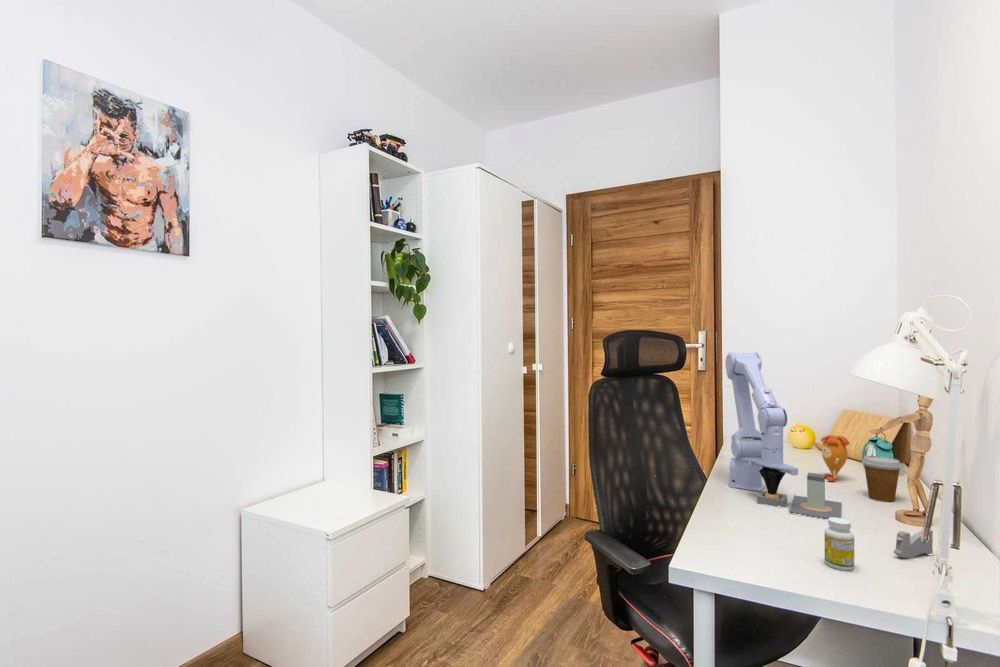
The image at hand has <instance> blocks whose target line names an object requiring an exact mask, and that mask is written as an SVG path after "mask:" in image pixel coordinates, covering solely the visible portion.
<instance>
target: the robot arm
mask: <svg viewBox="0 0 1000 667" xmlns="http://www.w3.org/2000/svg"><path fill="white" fill-rule="evenodd" d="M724 362H725V370H726V371H725V372H726V376H727V379H729V380H731V381H732V388H733V395H734V397H733V398H734V404H735V409H736V410H735V411H736V416H737V423H738V424H737V425H738V430H736V431H735V432H734V433H733V434H732V435H731V438H730V439H731V443H730V444H731V445H730V447H731V448H730V449H731V454H732V456H733V457H731V458H730V460H729V485H728V486H729V487H731V488H737V489H744V490H748V491H754V492H755V491H756V492H760V491H763V489H764V488H765V487H766V490H767V492H768V494H771V495H774V494H777V493H778V489H779V487H780V483H781V481H782V480H783V477H784V476H785V475H786V474H789V475H790V476H798V475H799V468H798V467H794V466H792V465H789V464H786V463H784V428H785V427H786V426H787V425H788V414H787V411H786V408H785V407H783V406H782V405H780V404H778V402H777V400H776V397H775V396H774V394H773V391H772V390H771V389H770V388H769V387H766V384H765V382H764V378H763V375H762V372H761V370H762V364H763V360H762V356H761V355H760V353H758V352H729V353H727V355H726V357H725V361H724ZM750 387H751V389H752V390H753V391H752V393H751V390H750ZM752 400H753V402H754V404H755V407H756V409H757V411H758V412H757V422H758V425H759V428H758V429H759V430H758V429H757V428H756V423H755V417H754V416H755V415H754V410H753V403H752ZM763 481H764V484H763Z"/></svg>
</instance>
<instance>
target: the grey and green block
mask: <svg viewBox="0 0 1000 667" xmlns="http://www.w3.org/2000/svg"><path fill="white" fill-rule="evenodd" d="M806 485H807V486H806V497H807V507H810V508H815V509H821V510H824V508H825V500H826V478H825V475H824V474H821V473H815V472H808V473H807V475H806Z"/></svg>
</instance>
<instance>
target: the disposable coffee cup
mask: <svg viewBox="0 0 1000 667" xmlns="http://www.w3.org/2000/svg"><path fill="white" fill-rule="evenodd" d="M862 463H863V466H864V472H865V478H866V479H865V480H866V485H867V491H868V492H867V493H868V498H869V499H872V500H876V501H879V502H886V503H892V502H895V501H896V494H897V487H898V482H899V477H900V476H899V474H900V469H901V468H902V464H901V462H900V460H899V459H896V458H892V457H886V456H879V455H878V456H877V455H866V456H864V457H863V460H862Z"/></svg>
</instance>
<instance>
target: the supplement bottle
mask: <svg viewBox="0 0 1000 667" xmlns="http://www.w3.org/2000/svg"><path fill="white" fill-rule="evenodd" d="M827 525H828V526H827V527H826V528H825V529H824V562H825V564H826V565H827V566H829V567H831V568H833V569H835V570H840V571H853V569H855V535H854V533H853V532H852V531H851V521H849V520H848V519H845V518H842V517H841V518H836V517H830V518H828V520H827Z"/></svg>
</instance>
